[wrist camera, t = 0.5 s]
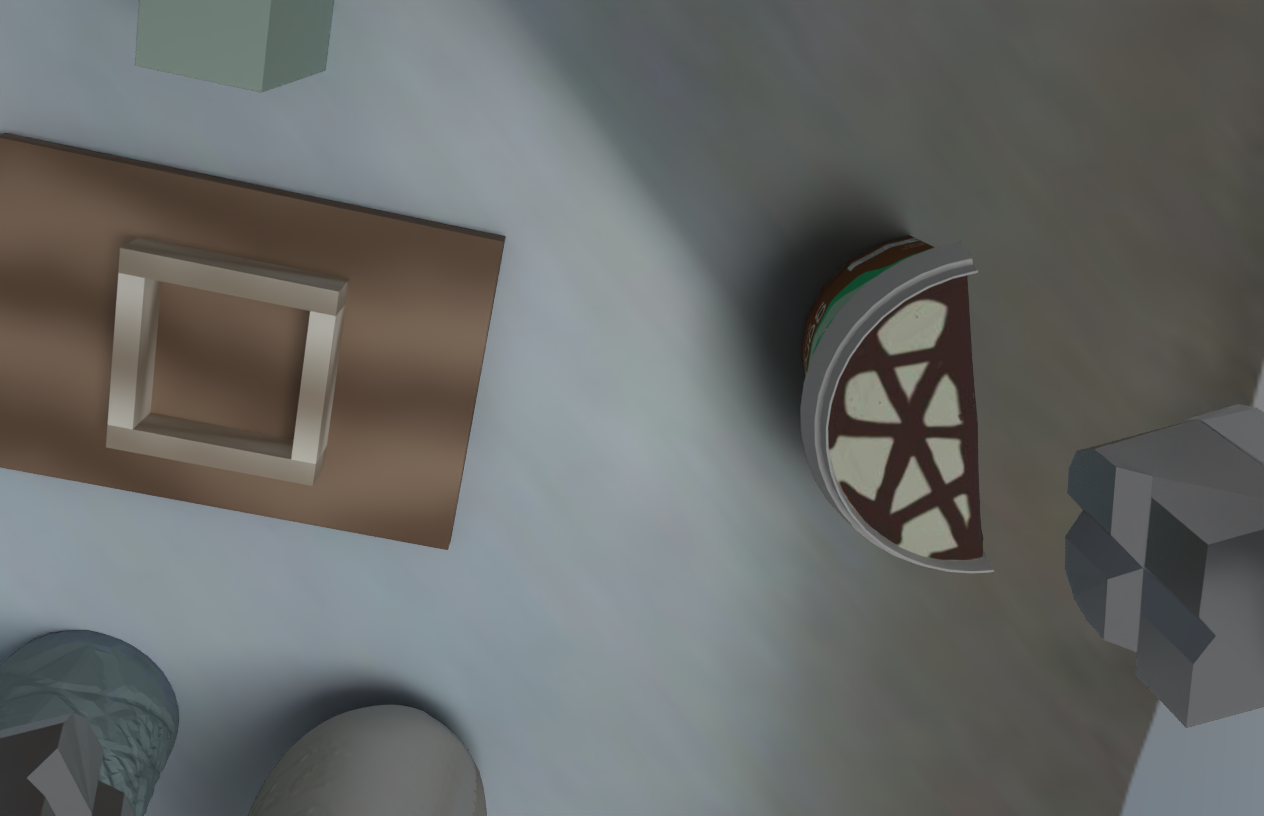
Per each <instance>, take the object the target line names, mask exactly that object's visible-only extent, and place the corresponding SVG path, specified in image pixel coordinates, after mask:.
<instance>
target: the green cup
mask: <svg viewBox="0 0 1264 816" xmlns="http://www.w3.org/2000/svg"><path fill="white" fill-rule="evenodd" d="M70 713H75V714H77V715H79V716H82V717H84V718H86V719H87V720H88V722H89V724H90V726H91V728H92V730H93V731H94V733H95V735H96V737H97V739H98V741H99V743H100V744H101V746H102V748H103V750H104V753H103V758H102V763H101V769H100V774H99V779H98V780H99V781H101V782H103V783H105V784H107V785H109V786H111V787H113V788H115V789H117V790H119V791H121V792H123V793H125V795H126V797H127V800H128V802H129V804H130V806H131V808H132V810H133V812H134V815H135V816H144V814H145V813H146V810H147V806H148V803H149V800H150V799H151V797H152V795H153V792H154V786H155V784H156V782H157V780H158V779H159V775H160V772H161V771H162V770H163V769H164V767H165V764H166V762H167V759H168V757H169V755H170V753H171V751H172V748H173V746H174V743H175V739H176V735H177V732H178V723H179V714H178V706H177V701H176V697H175V694H174V691H173V689H172V687H171V684H170V683H169V681H168V680H167V678H166V677H165V675H164V673H163V672H162V671H161V670H160V668H159V667H158V666H157V665H156V664H155V663H154V662H153V661H152V660H151V659H150V658H149V657H148V656H147V655H145V654H144V653H142V652H141V651H139V650H138V649H136V648H135V647H134V646H132V645H130V644H128V643H126V642H124V641H122V640H119V639H117V638H114V637H111V636H108V635H105V634H101V633H97V632H92V631H88V630H83V631H62V632H59V633H53V632H51V633H49V634H46V635H45V636H44V637H42V638H39V639H34V640H33V641H31V642H29V643H28V644H26V645H24V646H23V647H21V648H20V649H18V650H17V651H16V652H15V653H14V654H12V655H11V656H10V657H9V658H8V659H7V660H6V661H5V662H4V663H3V664H2V665H1V666H0V730H4V729H8V728H12V727H16V726H20V725H25V724H29V723H33V722H37V721H41V720H45V719H50V718H54V717H58V716H62V715H66V714H70Z"/></svg>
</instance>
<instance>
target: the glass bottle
mask: <svg viewBox="0 0 1264 816" xmlns="http://www.w3.org/2000/svg"><path fill="white" fill-rule="evenodd" d="M248 816H487V810H486V802H485V795H484V788H483V784H482V780H481V777H480V773H479V770H478V768H477V766H476V764H475V762H474V761H473V759H472V757H471V755H470V753H469V751H468V749H467V748H466V747H465V745H464V744H463V743H462V741H461V740H460V739H459V738H458V737H457V736H456V735H455V734H454V733H452V732H451V731H450V730H449V729H448V728H447V727H446V726H444V725H443V724H442V723H440V722H439V721H437V720H436V719H434V718H433V717H431V716H430V715H428V714H427V713H426V712H424V711H422V710H419V709H416V708H413V707H408V706H402V705H377V706H370V707H365V708H360V709H355V710H351V711H348V712H345V713H342V714H339V715H337V716H335V717H332V718H330V719H328V720H326V721H324V722H323V723H321V724H319V725H318V726H316V727H315V728H313V729H312V730H310V731H309V732H308V733H306V734H305V735H304V736H303V737H302V738H300V739H299V740H298V741H297V742H296V743H295V744H294V745H293V746H292V747H291V748H290V749H289V750H288V751H287V752H286V753H285V754H284V756H283V757H282V758H281V759H280V760H279V762H278V763H277V764H276V766H275V767H274V768H273V770H272V771H271V773H270V774H269V776H268V777H267V779H266V781H265V782H264V784H263V786H262V787H261V789H260V791H259V793H258V795H257V797H256V799H255V801H254V803H253V805H252V807H251V810H250V812H249V814H248Z"/></svg>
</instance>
